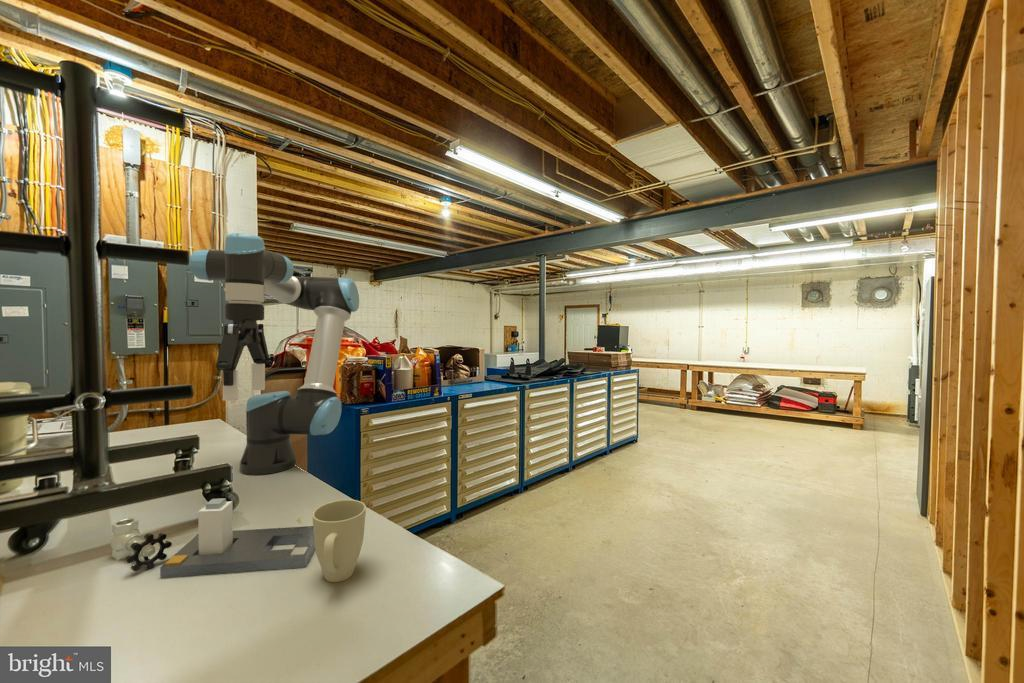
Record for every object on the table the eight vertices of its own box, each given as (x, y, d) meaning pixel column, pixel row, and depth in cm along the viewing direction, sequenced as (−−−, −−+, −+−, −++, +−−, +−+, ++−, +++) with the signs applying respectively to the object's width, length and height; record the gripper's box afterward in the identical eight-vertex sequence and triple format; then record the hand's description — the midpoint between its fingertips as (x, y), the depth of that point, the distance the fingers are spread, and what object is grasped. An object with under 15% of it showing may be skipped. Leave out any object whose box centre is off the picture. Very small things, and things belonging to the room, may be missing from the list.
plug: (210, 551, 81) (210, 497, 80) (232, 550, 81) (232, 496, 81) (198, 563, 77) (198, 506, 76) (222, 561, 77) (221, 505, 77)
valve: (98, 560, 77) (127, 579, 72) (97, 526, 77) (126, 543, 71) (142, 543, 83) (172, 560, 78) (141, 512, 83) (171, 526, 77)
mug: (298, 576, 73) (298, 512, 73) (350, 554, 81) (351, 495, 80) (325, 605, 66) (326, 533, 66) (380, 577, 74) (381, 513, 73)
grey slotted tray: (199, 542, 84) (199, 531, 84) (323, 534, 88) (323, 524, 88) (160, 578, 72) (160, 565, 72) (305, 567, 76) (305, 555, 76)
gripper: (251, 304, 105) (252, 386, 106) (194, 299, 80) (195, 405, 81) (283, 305, 106) (283, 386, 107) (236, 300, 82) (236, 405, 82)
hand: (245, 394), depth 94 cm, fingers open, 13 cm apart
